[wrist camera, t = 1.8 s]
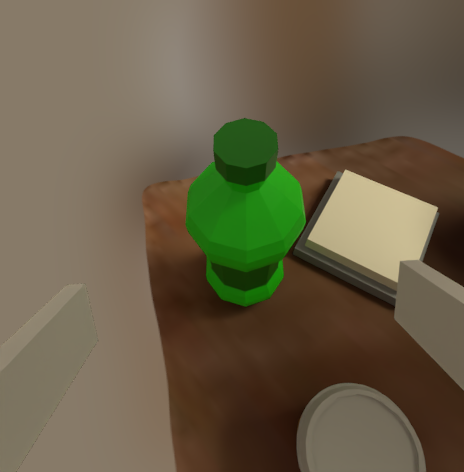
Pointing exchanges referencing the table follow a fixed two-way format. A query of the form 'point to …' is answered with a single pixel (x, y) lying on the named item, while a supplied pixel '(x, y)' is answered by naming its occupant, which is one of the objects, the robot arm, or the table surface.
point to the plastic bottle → (245, 213)
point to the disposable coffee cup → (356, 433)
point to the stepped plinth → (366, 233)
